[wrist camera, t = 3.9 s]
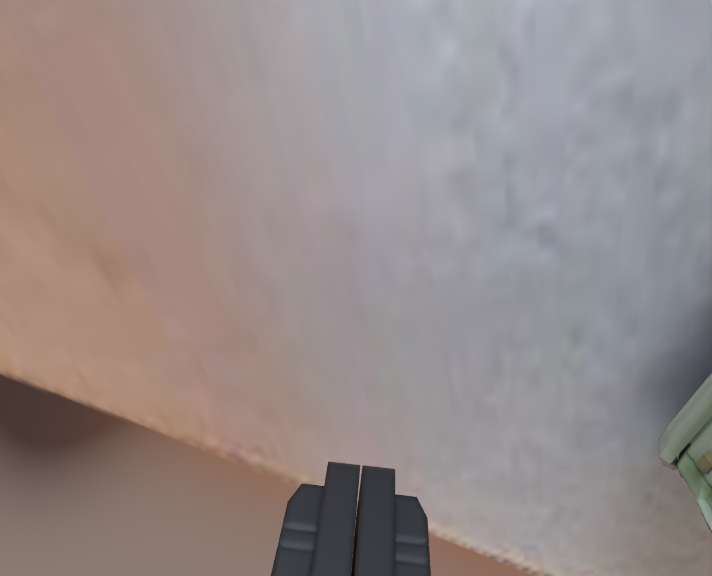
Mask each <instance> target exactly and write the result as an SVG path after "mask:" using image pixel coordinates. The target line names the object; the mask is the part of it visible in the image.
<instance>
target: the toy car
mask: <svg viewBox="0 0 712 576" xmlns="http://www.w3.org/2000/svg"><path fill="white" fill-rule="evenodd" d="M679 453H680V454H679ZM678 454H679V459H678V458H677V456H678ZM659 457H660V459H661V461H662V463H663V465H664V466H667V467H669V468H671V469H673V470H674V469H679V473H680V476H681V477H682V478H684V479H685V481H686V482H687V484H688V486H689V487H690V489H691V491H692V493H693V494H694V496H695V498H696V500H697V502H698V504H699V507H700V509H701V512H702V514H703V516H704V519H705V521H706V523H707V526H708V528H709V529H710V531H711V532H712V373H711V374H710V376H709V377H708V378H707V379H706V380H705V382H704V383H703V384H702V385H701V386H700V388H699V389H698V390H697V391H696V392H695V394H694V395H693V396H692V397H691V398H690V399H689V401H688V402H687V403H686V404H685V405H684V407H683V408H682V409H681V410H680V411H679V413H678V414H677V415H676V416H675V417H674V419H673V420H672V421H671V422H670V423H669V425H668V426H667V428H666V429H665V431H664V432H663V434H662V435H661V437H660V438H659Z"/></svg>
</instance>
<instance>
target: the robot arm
mask: <svg viewBox="0 0 712 576" xmlns="http://www.w3.org/2000/svg"><path fill="white" fill-rule="evenodd" d="M359 473H360V465H353V464H345V463H336V462H328V467H327V473H326V479H325V485H324V486H318V485H309V484H301V485H300V487H299V488H298V489H297V491H296V492H295V493H294V494H293V496H292V497H291V498H290V500H289V501H288V504H287V508H286V512H285V517H284V521H283V527H282V530H281V534H280V538H279V543H278V547H277V551H276V556H275V560H274V564H273V569H272V573H271V576H431V572H430V555H429V546H428V542H429V538H428V521H427V517H426V515H425V513H424V511H423V509H422V507H421V505H420V503H419V501H418V499H417V497H412V496H403V495H395V469H389V468H380V467H372V466H363V468H362V475H361V483H360V491H359V499H358V507H357V497H358V485H359ZM356 508H357V517H356ZM355 520H356V525H355ZM354 532H355V535H354ZM353 543H354V546H353ZM352 555H353V558H352ZM351 567H352V570H351Z"/></svg>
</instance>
